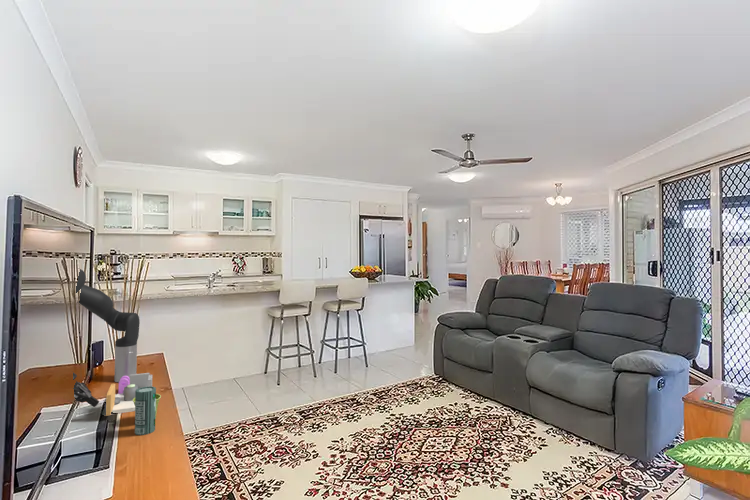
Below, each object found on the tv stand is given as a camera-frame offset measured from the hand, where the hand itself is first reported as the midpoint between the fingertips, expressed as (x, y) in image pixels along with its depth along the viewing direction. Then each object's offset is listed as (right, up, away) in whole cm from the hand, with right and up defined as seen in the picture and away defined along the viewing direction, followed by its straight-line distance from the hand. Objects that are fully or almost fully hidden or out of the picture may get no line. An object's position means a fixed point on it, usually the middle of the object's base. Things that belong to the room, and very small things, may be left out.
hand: (96, 404), depth 154 cm
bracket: (-3, -6, +30) cm, 31 cm away
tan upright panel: (+1, -4, +6) cm, 7 cm away
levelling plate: (+3, -6, +16) cm, 17 cm away
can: (+24, -6, -10) cm, 27 cm away
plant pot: (+19, -6, -1) cm, 20 cm away
